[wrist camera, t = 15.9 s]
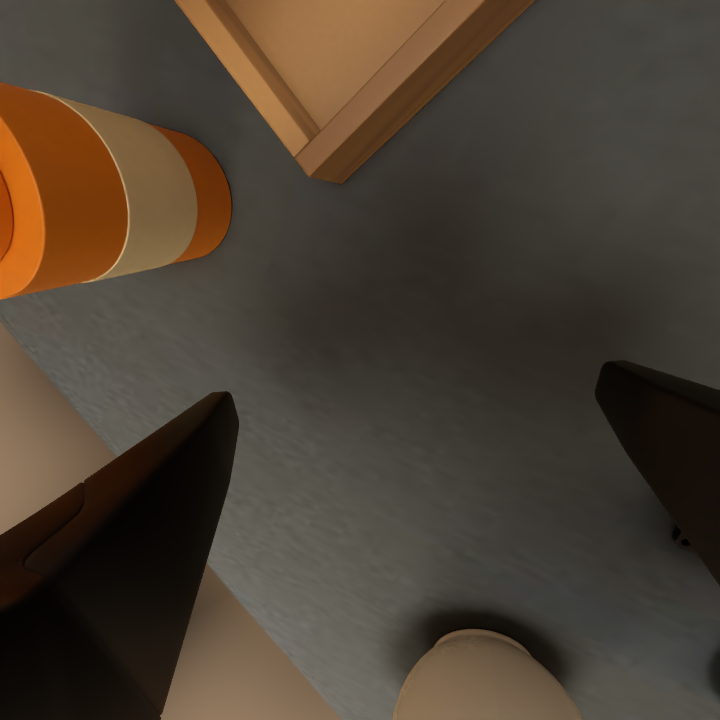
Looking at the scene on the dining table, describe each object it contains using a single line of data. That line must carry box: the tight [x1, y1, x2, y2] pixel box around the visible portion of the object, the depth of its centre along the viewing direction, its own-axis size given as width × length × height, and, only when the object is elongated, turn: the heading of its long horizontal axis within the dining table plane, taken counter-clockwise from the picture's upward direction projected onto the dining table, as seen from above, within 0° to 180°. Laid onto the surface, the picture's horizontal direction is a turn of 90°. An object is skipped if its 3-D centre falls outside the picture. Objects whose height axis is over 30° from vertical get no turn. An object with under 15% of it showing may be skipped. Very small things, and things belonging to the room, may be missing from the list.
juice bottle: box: [0, 82, 231, 299], centre depth 13 cm, size 6×6×14 cm
